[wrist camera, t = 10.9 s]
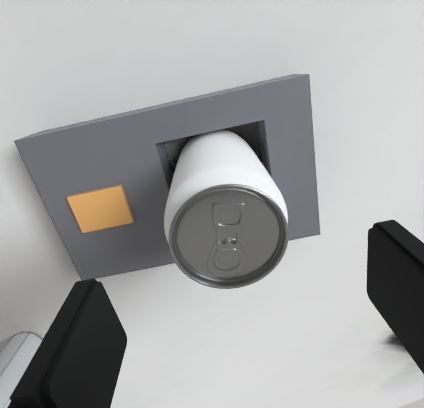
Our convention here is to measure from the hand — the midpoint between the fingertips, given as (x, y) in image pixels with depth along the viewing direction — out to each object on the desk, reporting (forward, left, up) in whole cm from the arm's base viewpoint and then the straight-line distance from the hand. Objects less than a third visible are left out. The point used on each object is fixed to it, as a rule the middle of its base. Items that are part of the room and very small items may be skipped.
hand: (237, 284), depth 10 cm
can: (0, 0, -16) cm, 16 cm away
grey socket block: (+1, -3, -16) cm, 16 cm away
